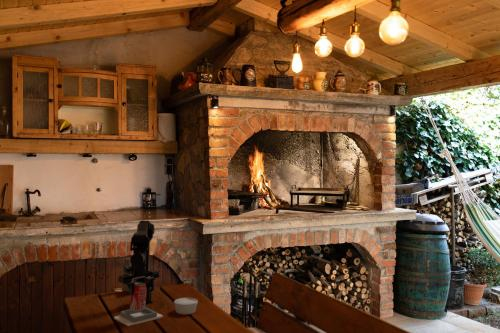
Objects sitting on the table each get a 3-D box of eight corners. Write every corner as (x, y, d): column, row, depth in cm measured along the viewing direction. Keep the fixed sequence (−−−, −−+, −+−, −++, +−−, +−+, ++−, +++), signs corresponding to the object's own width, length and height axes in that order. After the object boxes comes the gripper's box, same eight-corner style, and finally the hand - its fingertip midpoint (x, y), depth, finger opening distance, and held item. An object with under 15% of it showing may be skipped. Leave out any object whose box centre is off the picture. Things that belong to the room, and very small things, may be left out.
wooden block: (138, 293, 250) (138, 260, 250) (121, 291, 254) (122, 258, 254) (141, 291, 254) (142, 259, 254) (125, 289, 258) (126, 257, 257)
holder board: (148, 310, 222) (148, 304, 222) (163, 317, 213) (163, 311, 213) (113, 318, 210) (114, 312, 210) (127, 326, 201) (128, 320, 201)
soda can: (130, 307, 214) (133, 281, 215) (146, 308, 215) (148, 282, 215) (128, 311, 207) (130, 284, 208) (143, 312, 208) (146, 285, 208)
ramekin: (201, 310, 225) (201, 299, 225) (189, 317, 215) (189, 305, 215) (182, 306, 229) (182, 296, 229) (169, 313, 219) (169, 302, 219)
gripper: (148, 255, 224) (147, 287, 224) (112, 261, 211) (112, 294, 211) (160, 259, 216) (160, 292, 216) (124, 265, 203) (123, 300, 203)
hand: (139, 294), depth 212 cm, fingers closed on soda can, 7 cm apart
